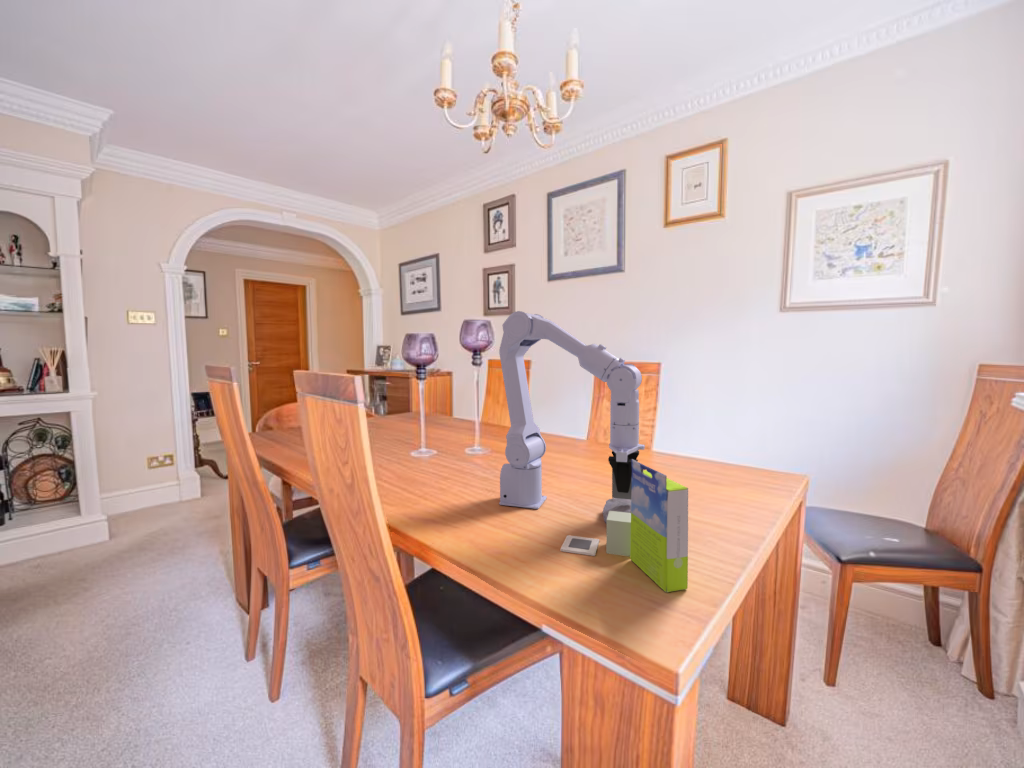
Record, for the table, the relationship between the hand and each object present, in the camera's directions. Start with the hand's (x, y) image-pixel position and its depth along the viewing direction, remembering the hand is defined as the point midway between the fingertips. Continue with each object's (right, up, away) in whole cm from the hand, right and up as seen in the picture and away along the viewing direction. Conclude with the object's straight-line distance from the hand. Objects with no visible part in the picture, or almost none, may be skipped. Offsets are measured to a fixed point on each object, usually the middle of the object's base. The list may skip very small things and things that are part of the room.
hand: (624, 488), depth 88 cm
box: (-1, -8, -22) cm, 23 cm away
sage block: (-4, -8, -13) cm, 16 cm away
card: (-11, -8, -12) cm, 18 cm away
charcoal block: (0, -2, 0) cm, 2 cm away
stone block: (+1, -7, +1) cm, 7 cm away
